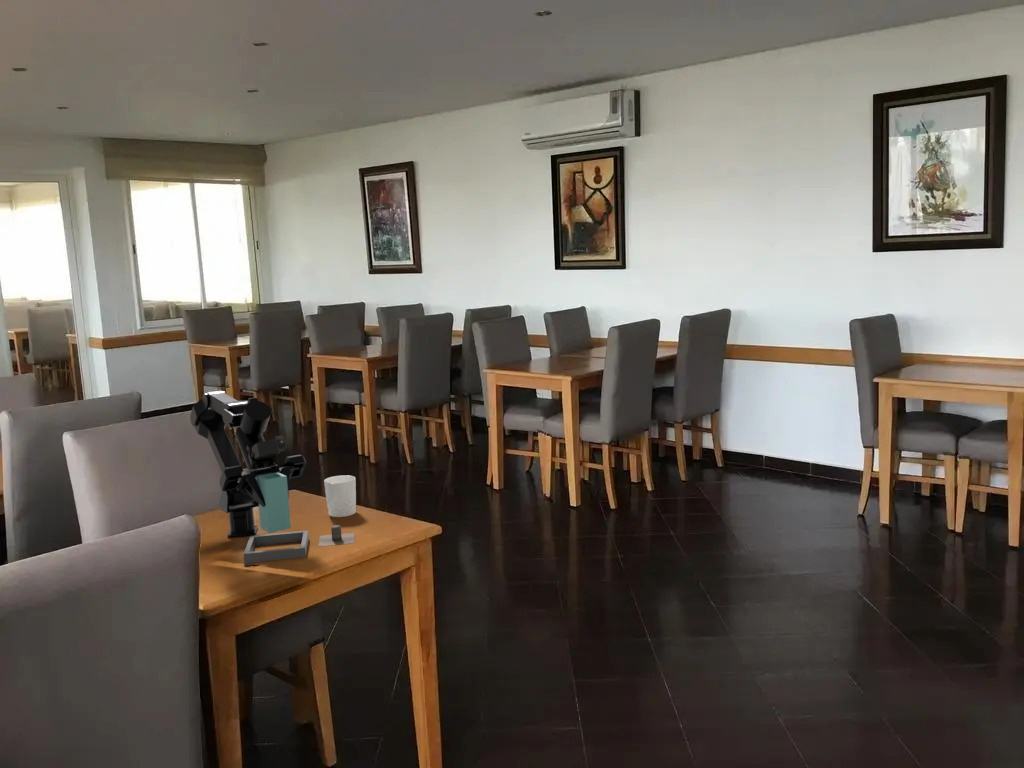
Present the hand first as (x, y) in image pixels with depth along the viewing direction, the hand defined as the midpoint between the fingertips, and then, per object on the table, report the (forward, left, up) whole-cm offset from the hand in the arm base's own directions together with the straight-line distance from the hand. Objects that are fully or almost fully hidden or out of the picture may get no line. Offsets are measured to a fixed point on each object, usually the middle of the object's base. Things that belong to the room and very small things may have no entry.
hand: (276, 503), depth 191 cm
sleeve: (-1, -1, -6) cm, 6 cm away
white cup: (-27, +13, -12) cm, 33 cm away
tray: (-1, -1, -12) cm, 12 cm away
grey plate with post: (-5, +12, -12) cm, 18 cm away
